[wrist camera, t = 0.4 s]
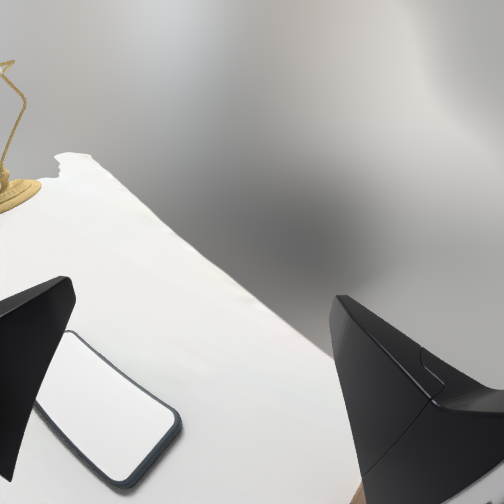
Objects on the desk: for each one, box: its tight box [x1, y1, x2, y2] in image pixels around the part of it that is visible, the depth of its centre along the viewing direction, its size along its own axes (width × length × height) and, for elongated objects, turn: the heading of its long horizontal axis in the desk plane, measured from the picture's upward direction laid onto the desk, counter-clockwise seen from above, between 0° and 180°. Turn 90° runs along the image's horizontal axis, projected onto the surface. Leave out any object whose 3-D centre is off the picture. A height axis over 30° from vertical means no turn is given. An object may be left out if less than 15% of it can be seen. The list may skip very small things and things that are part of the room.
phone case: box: [34, 330, 182, 488], centre depth 19 cm, size 9×2×16 cm
